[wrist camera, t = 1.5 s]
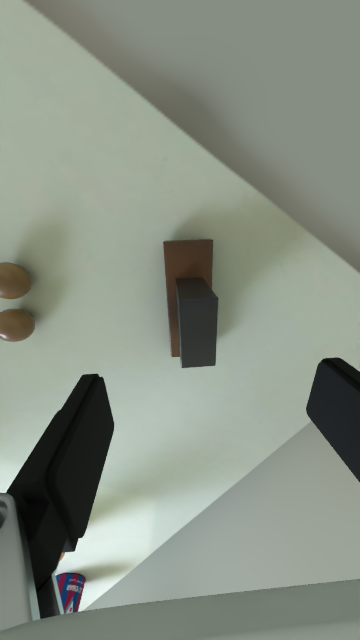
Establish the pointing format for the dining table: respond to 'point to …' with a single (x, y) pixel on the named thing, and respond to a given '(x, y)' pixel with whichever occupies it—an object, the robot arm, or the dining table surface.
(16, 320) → the crumb
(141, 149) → the dining table surface
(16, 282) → the crumb
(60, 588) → the mug
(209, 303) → the brush
